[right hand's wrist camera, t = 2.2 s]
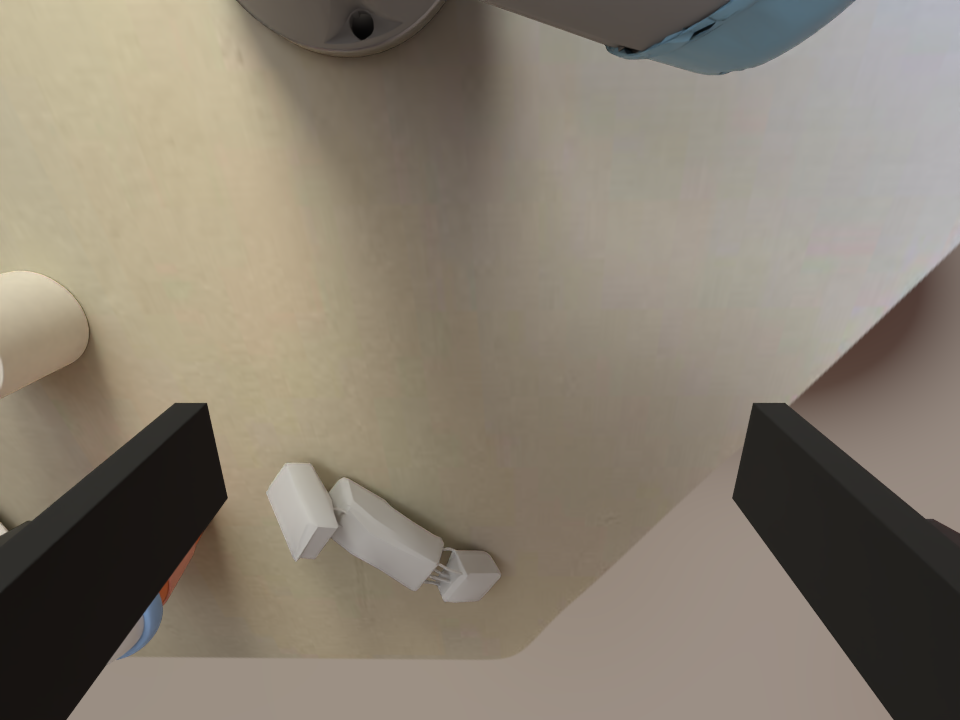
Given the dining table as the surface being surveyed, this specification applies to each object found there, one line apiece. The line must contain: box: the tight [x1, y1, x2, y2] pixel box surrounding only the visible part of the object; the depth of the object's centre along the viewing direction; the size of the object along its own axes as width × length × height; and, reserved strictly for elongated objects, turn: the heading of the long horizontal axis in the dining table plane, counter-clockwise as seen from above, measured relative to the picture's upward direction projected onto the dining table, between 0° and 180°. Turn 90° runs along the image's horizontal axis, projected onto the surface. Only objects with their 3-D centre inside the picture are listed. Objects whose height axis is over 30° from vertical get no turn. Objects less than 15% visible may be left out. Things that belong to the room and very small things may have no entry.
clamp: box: [266, 463, 501, 603], centre depth 41 cm, size 20×4×7 cm, turn 56°
